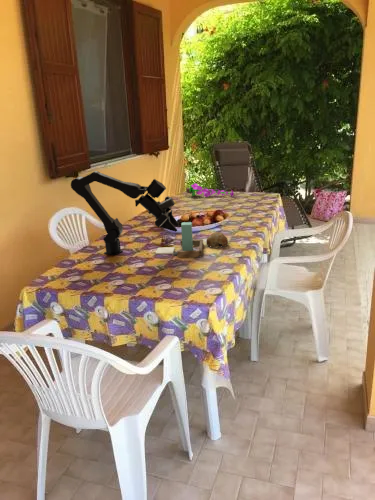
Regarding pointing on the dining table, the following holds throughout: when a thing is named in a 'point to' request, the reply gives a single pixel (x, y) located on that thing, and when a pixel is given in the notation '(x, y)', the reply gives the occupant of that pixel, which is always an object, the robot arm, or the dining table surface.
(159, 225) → the robot arm
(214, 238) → the bread roll
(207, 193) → the purple flower spray
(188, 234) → the teal block
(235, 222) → the dining table surface
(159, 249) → the white tile
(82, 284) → the dining table surface
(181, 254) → the walnut frame
